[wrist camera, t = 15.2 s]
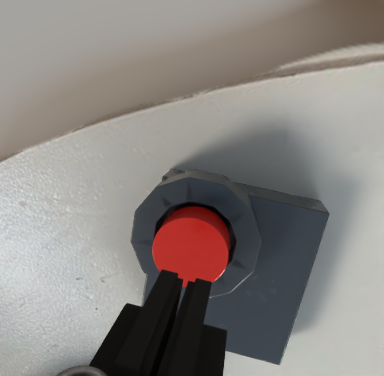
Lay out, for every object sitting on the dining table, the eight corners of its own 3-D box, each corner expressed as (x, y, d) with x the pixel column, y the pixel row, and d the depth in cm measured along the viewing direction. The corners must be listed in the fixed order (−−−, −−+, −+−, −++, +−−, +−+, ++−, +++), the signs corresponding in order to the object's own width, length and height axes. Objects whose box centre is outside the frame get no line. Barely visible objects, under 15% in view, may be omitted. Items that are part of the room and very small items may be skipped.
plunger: (166, 198, 17) (158, 209, 15) (237, 214, 16) (236, 227, 15) (156, 261, 18) (146, 278, 16) (222, 277, 18) (219, 296, 16)
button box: (161, 153, 20) (141, 166, 16) (324, 188, 19) (344, 211, 15) (137, 304, 23) (115, 344, 19) (277, 340, 22) (283, 391, 18)
